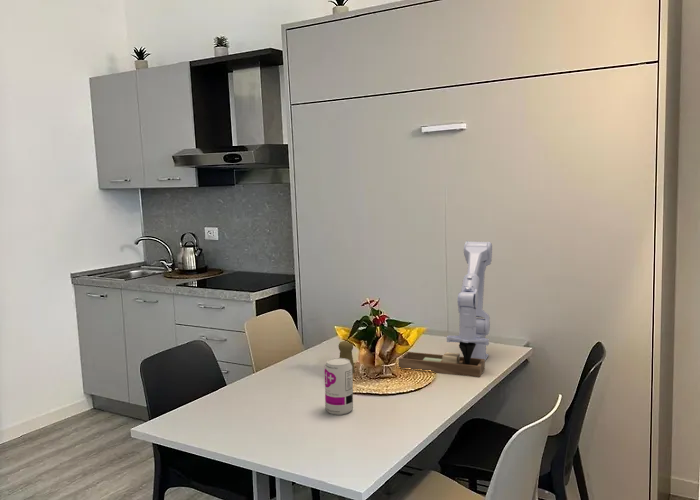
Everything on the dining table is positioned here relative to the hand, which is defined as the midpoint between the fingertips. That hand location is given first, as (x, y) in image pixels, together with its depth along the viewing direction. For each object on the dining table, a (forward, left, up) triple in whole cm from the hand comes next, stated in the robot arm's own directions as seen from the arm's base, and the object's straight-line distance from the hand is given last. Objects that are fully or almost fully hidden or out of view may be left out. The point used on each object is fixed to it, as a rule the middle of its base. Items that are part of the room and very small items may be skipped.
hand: (467, 363), depth 218 cm
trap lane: (0, -9, -3) cm, 10 cm away
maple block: (0, -6, 0) cm, 6 cm away
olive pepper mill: (+14, -40, -3) cm, 43 cm away
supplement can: (+48, -28, -3) cm, 56 cm away
